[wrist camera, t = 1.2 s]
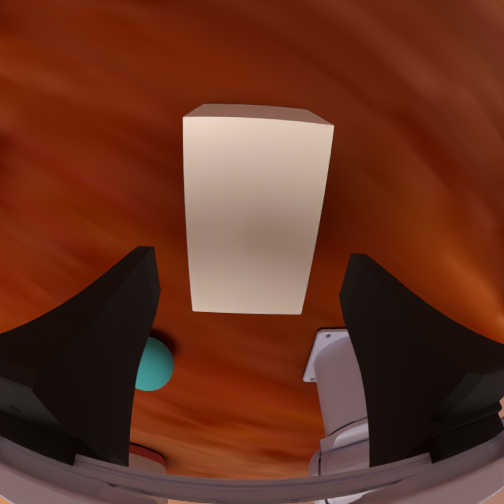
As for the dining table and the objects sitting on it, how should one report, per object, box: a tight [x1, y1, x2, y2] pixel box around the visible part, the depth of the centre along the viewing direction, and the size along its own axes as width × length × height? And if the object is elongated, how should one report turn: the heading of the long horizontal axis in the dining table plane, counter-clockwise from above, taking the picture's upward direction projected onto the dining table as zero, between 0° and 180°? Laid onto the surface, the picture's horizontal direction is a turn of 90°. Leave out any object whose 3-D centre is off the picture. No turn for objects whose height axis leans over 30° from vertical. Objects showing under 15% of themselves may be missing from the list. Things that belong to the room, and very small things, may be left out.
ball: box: [135, 337, 174, 391], centre depth 24 cm, size 5×5×5 cm
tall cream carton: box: [183, 104, 334, 314], centre depth 16 cm, size 6×10×6 cm, turn 177°
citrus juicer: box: [127, 444, 168, 504], centre depth 37 cm, size 16×17×20 cm
